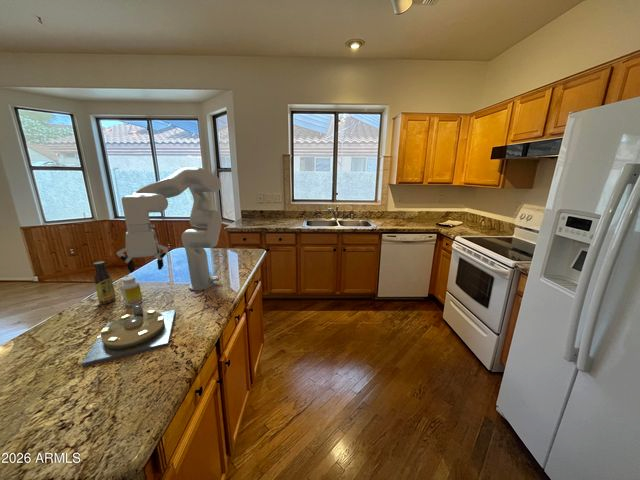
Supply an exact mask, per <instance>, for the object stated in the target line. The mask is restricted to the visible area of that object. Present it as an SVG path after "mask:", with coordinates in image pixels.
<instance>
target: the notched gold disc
mask: <svg viewBox="0 0 640 480" xmlns="http://www.w3.org/2000/svg"><path fill="white" fill-rule="evenodd" d="M142 307H143V306H142V304H141V303H139V304H137V305H134V306H131V308H132V313H133V314H125V315H123V316H121V317H120V319H117V320H115V321H113V322H114V323H112V324H110V325H109V326H108V327H106V328H105V327H103V328H102V329H101V331H100V334H101V338H102V342H103V345H104V346H105V347H107V348H111V349H121V348H127V347H131V346H135V345H138V344H140V343H143V342H145V341H147V340H149V339H151V338H153V337H154V336H156V335H157V334H158V333H159V332H160V331H161V330H162V329H163V327H164V325H165V323H164V317H163V315H162V314H160V313H161V312H157V311H156V309H155V310H153V309H150V310H148V311H143V308H142Z"/></svg>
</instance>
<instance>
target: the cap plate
mask: <svg viewBox="0 0 640 480" xmlns="http://www.w3.org/2000/svg"><path fill="white" fill-rule="evenodd" d="M159 313H160V314H162V315H163V317H164V323H165V325H164V327H163V329H162V330H161V331H160V332H159V333H158V334H157V335H156V336H154V337H153V338H151V339H149V340H147V341H145V342H143V343H140V344H138V345H135V346H131V347H127V348H121V349H111V348H107V347H105V346H104V345H103V342H102V338H101V333H100V334H99V335H97V336H96V339H95V341H94V342H93V345H92V346H91V348H90V349H89V351H88V352H87V353H86V355H85V357H84V358H83V360H82V361H81V362H80V363H81V367H82V368H85V367H89V366H93V365H96V364H100V363H106V362H109V361H110V362H111V361H114V360H118V359H122V358H126V357H130V356H131V357H132V356H134V355H138V354H142V353H147V352H151V351H155V350H159V349H164V348H166V347H167V348H168V347H169V345H170V340H171V335H172V332H173V327H174V321H175V317H176V309H171V310H168V311H166V310H165V311H163V312H159ZM114 322H115V321H110V322H107V323H106V325H105V326H104V328H106V327H108V326H109V325H110V324H112V323H114Z"/></svg>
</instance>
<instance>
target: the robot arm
mask: <svg viewBox="0 0 640 480" xmlns="http://www.w3.org/2000/svg"><path fill="white" fill-rule="evenodd" d="M221 187H222V183H221V180H220V178H219V177H218V176H217V175H215V174H213V173H212V172H210V171H209V170H207V169H204V168H203V167H202V168H201V167H182V168H179V169H177V170H176V171H175V172H174V173H172V174H170V175H169V176H167V177H166V178H164V179H161V180H158V181H156V182H153V183H150V184H146V185H145V186H143V187H140V188H139V189H137V190H135V191H134V192H132V193H131V194H129V195H124V196H122V197H121V205H122V209H123V214H124V215H123V216H124V221H125V225H126V232H125V241H124V242H125V247H124V248H122V249H120V250H118V251H117V252H116V255H117V256H118V257H119V258H120V260H122V261H124V263H126V266H127V269H128V271H129V273H130V274H131V273H133V272H134V271H135V270H136V268H135V261H134V260H133V259H134V258H135V259H136V258H147V257H148V258H149V257H154V258H156V259H157V260H156V263H157V268H158V270H159V271H161V270H162V269H163V267H164V260H163V259H164V258H165V257H166V255H168V254H167V253H168V252H169V247H167V246H164V245H162V244H159V241H158V237H157V235H156V234H157V233H156V231H155V230H154V229H155V228H156V224H155V223H154V224H153V223H151V220H150V219H151V218H150V214H151V213H162V212H164V211H165V210H167V208H168V206H169V201H168V199H169V198H174V197H177V196H180V195H181V194H182V193H184V191H186V190H187V189H189V192H190V194H191V196H192V199H193V203H192V208H191V213H190V216H189V224H190V225H191V227H194V228H189V229H186V230H185V231H183V232H182V233H181V243H182V245H183V247H184V250H185V253H186V254H185V255H186V259H187V265H188V267H187V268H188V270H189V271H188V272H189V277H190V278H189V279H190V283H189V284H188V290H190V291H203V290H207V289H210V288H211V287H213V286H214V284H215V283H214V282H217V281H218V282H219V281H220V277H219V276H216V275H214V276H211V275H212V274H210V268H209V260H208V254H207V251H206V249H207V248H208V249H211V248H215V247H216V246H217V244H218V243H219V242H218V241H219V239H220V233H221V227H222V223H223V222H222V221H223V220H222V219H223V218H222V215H221V213H220V212H219V211H218V210H216V209H211V204H212V202H211V200H210V198H209V197H208V195H207V194H206V193H217V192H219V191H220V190H221ZM153 228H154V229H153ZM205 248H206V249H205ZM161 250H162V251H163V252H162V254H161V253H160V252H161ZM125 252H126V255H125V254H124V253H125Z"/></svg>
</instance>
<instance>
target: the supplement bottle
mask: <svg viewBox="0 0 640 480" xmlns="http://www.w3.org/2000/svg"><path fill="white" fill-rule="evenodd" d="M121 291H122V296H123V299H124V304H125V305H126V306H128V307H133V306H135V305H139V304H141V303H142V302H143V296H142V292H141V286H140V283H139V281H137V280H136V277H135V276H133V275H132V276H131V275H129V276H127V277H123V278H122V285H121Z"/></svg>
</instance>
